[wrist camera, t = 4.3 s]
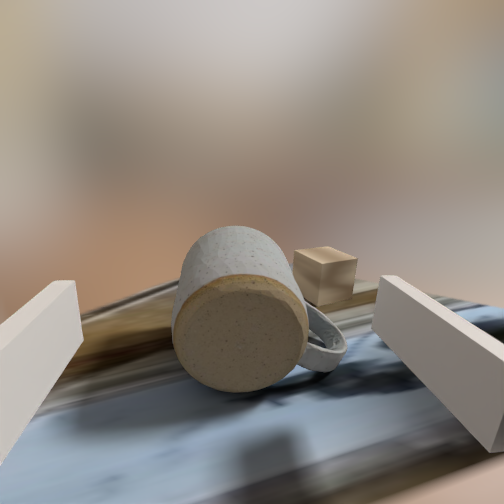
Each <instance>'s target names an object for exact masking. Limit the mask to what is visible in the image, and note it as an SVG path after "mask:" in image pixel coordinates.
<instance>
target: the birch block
mask: <svg viewBox="0 0 504 504" xmlns="http://www.w3.org/2000/svg"><path fill="white" fill-rule="evenodd" d="M357 260H358V259H357V258H355V257H352V256H350V255H348V254H345V253H343V252H340V251H338V250H336V249H333V248H330V247H328V246H327V247H318V248H310V249H302V250H295V251H294V262H293V273H292V274H293V276H294V279H295V281H296V283H297V285H298V287H299V289H300V291H301V293H302V295H303V297H304V298H305V299H307V300H308V301H310V302H311V303H313V304H314V305H316V306H322V305H326V304H331V303H335V302H339V301H344V300H348V299H352V293H353V287H354V280H355V273H356V266H357Z"/></svg>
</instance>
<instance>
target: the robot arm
mask: <svg viewBox="0 0 504 504" xmlns="http://www.w3.org/2000/svg"><path fill="white" fill-rule="evenodd" d="M371 329H372V330H373V331H374V332H375V333H376V334H377V335H378V336H379V337H380V338H381V339H382V340H383V341H384V342H385V343H386V344H387V345H388V347H389V348H390V349H391V350H392V351H393V352H394V353H395V354H396V355H397V356H398V357H399V358H400V359H401V360H402V361H403V362H404V363H405V364H406V366H407V367H408V368H409V369H410V370H411V371H412V372H413V373H414V374H415V375H416V376H417V377H418V378H419V379H420V380H421V381H422V382H423V383H424V384H425V386H426V387H427V388H428V389H429V390H430V391H431V392H432V393H433V394H434V395H435V396H436V397H437V398H438V399H439V400H440V401H441V402H442V403H443V405H444V406H445V407H446V408H447V409H448V410H449V411H450V412H451V413H452V414H453V415H454V416H455V417H456V418H457V419H458V420H459V421H460V422H461V423H462V425H463V426H464V427H465V428H466V429H467V430H468V431H469V432H470V433H471V434H472V435H473V436H474V437H475V438H476V439H477V440H478V441H479V442H480V443H481V445H482V446H483V447H484V448H485V449H486V450H487V451H488V452H489V453H496V452H504V344H503V343H502V342H501V341H500V340H498V339H497V338H495V337H493V336H492V335H490V334H489V333H487V332H484V331H482V330H481V329H479V328H478V327H476V326H474V325H473V324H471V323H470V322H468V321H467V320H465V319H463V318H462V317H460V316H459V315H457V314H456V313H454V312H452V311H451V310H449V309H448V308H446V307H445V306H443V305H441V304H440V303H438V302H437V301H435V300H434V299H432V298H430V297H429V296H427V295H426V294H424V293H423V292H421V291H419V290H418V289H416V288H415V287H413V286H412V285H410V284H409V283H407V282H405V281H404V280H402V279H401V278H399V277H398V276H395V275H391V276H381V277H380V282H379V287H378V293H377V299H376V304H375V310H374V316H373V321H372V327H371ZM82 342H83V335H82V328H81V320H80V313H79V307H78V299H77V292H76V285H75V281H74V280H66V281H53V282H52V283H51V284H49V285H48V286H47V287H46V288H45V289H43V290H42V291H41V292H40V293H39V294H37V295H36V296H35V297H34V298H33V299H31V300H30V301H29V302H28V303H26V304H25V305H24V306H23V307H22V308H21V309H19V310H18V311H17V312H16V313H14V314H13V315H12V316H11V317H10V318H8V319H7V320H6V321H5V322H3V323H2V324H1V325H0V465H1V464H2V462H3V461H4V459H5V458H6V456H7V455H8V453H9V452H10V450H11V449H12V447H13V446H14V444H15V443H16V441H17V440H18V438H19V437H20V435H21V434H22V432H23V431H24V429H25V428H26V426H27V425H28V423H29V422H30V420H31V419H32V417H33V416H34V414H35V413H36V411H37V410H38V408H39V407H40V405H41V404H42V402H43V400H44V399H45V397H46V396H47V394H48V393H49V391H50V390H51V388H52V387H53V385H54V384H55V382H56V381H57V379H58V378H59V376H60V375H61V373H62V372H63V370H64V369H65V367H66V366H67V364H68V363H69V361H70V360H71V358H72V357H73V355H74V354H75V352H76V351H77V349H78V348H79V346H80V345H81V343H82Z"/></svg>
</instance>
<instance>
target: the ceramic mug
mask: <svg viewBox="0 0 504 504" xmlns="http://www.w3.org/2000/svg"><path fill="white" fill-rule="evenodd" d="M171 326H172V341H173V346H174V350H175V352H176V355H177V358H178V360H179V362H180V363H181V365H182V366H183V367H184V369H185V370H186V371H187V372H188V373H189V374H190V375H191V376H192V377H193V378H194V379H196V380H197V381H199V382H200V383H202V384H204V385H206V386H208V387H211V388H213V389H216V390H219V391H225V392H233V393H235V392H251V391H255V390H259V389H262V388H265V387H268V386H270V385H272V384H274V383H276V382H278V381H279V380H281V379H283V378H284V377H285V376H286V375H287V374H288V373H289V372H290V371H292V370H293V369H294V367H295V366H296V364H297V365H299V366H301V367H303V368H306V369H308V370H312V371H319V372H329V371H332V370H334V369H335V368H336V367H337V366H338V364H339V362H340V361H341V359H342V358H343V356H344V355H345V353H346V351H347V342H346V340H345V337H344V336H343V334H342V332H341V331H340V330H339V329H338V328H337V326H336V325H335V324H334V323H333V322H332V321H331V320H330V319H329V318H328V317H326V316H325V315H324V314H323V313H322V312H320V311H319V310H317V309H316V308H315V307H313V306H311V305H310V304H308V303H307V302H306V301H304V298H303V295H302V293H301V291H300V289H299V287H298V285H297V283H296V281H295V279H294V276H293V274H292V271H291V269H290V267H289V264H288V262H287V260H286V258H285V256H284V254H283V252H282V250H281V249H280V248H279V247H278V245H277V244H276V243H275V242H274V241H273V240H272V239H271V238H270V237H268V236H267V235H265V234H264V233H262V232H260V231H258V230H255V229H253V228H249V227H244V226H228V227H222V228H218V229H215V230H213V231H210V232H208V233H207V234H205V235H204V236H202V237H200V238H199V239H198V240H197V241H196V242H195V243H194V245H193V246H192V247H191V249H190V250H189V252H188V253H187V255H186V258H185V260H184V262H183V266H182V271H181V276H180V280H179V284H178V289H177V296H176V299H175V303H174V307H173V312H172V323H171ZM309 329H310V330H311V331H312V332H313V333H315V334H316V335H318V336H319V337H320V339H321V340H322V341H323V342H324V344H325V346H326V348H322V347H319V346H317V345H314V344H311V343H309V342H307V341H308V332H309Z"/></svg>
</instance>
